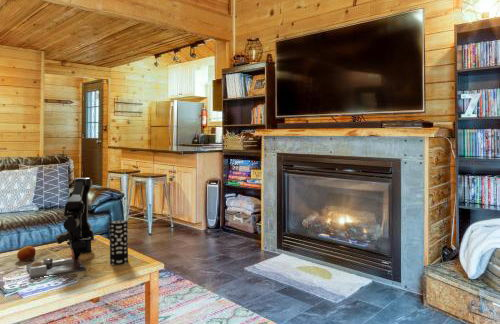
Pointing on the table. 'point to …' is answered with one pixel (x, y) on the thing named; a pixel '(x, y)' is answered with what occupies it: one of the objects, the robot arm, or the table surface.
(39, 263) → the wooden ball
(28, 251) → the fruit
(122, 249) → the spotted tube
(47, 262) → the lever
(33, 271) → the base
